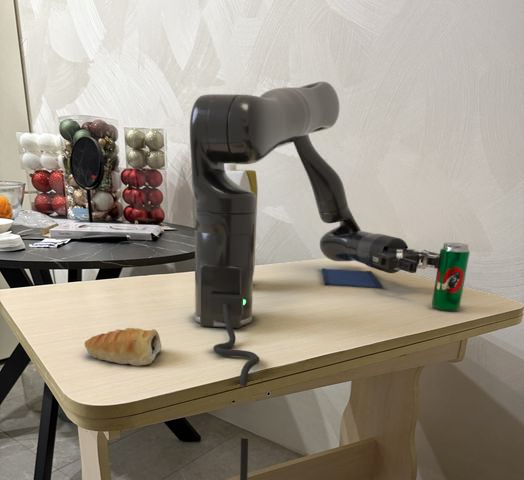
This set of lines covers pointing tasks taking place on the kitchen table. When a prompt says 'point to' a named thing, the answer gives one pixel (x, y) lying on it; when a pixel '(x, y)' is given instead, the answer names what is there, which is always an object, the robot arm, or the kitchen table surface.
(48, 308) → the kitchen table surface
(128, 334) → the pastry
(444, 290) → the soda can
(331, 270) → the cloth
